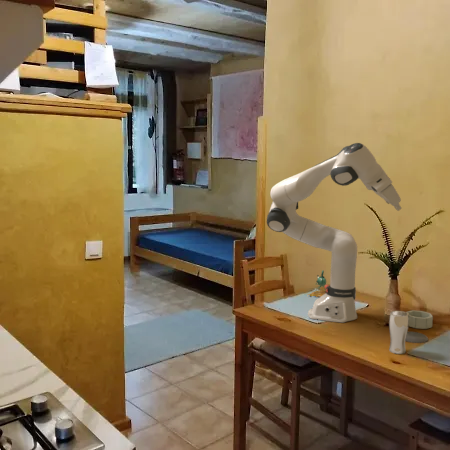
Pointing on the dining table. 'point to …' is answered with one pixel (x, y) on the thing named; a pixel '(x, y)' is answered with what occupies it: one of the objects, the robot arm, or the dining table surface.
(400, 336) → the beer glass
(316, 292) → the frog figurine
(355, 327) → the dining table surface
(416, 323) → the bowl
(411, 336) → the coaster
